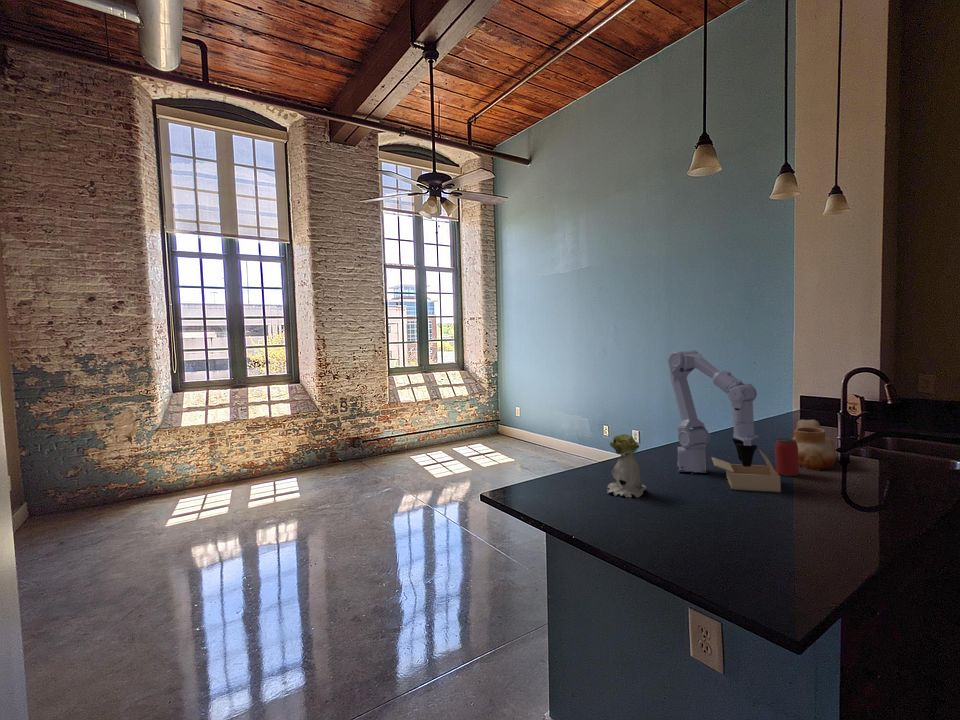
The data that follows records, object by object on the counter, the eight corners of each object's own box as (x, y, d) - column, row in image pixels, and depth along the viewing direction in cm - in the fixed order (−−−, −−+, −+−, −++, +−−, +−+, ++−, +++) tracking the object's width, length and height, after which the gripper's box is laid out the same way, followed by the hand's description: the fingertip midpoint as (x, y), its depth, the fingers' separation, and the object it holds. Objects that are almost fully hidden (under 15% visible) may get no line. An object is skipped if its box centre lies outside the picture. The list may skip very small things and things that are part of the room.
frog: (644, 486, 152) (642, 431, 152) (646, 499, 140) (644, 438, 139) (607, 485, 156) (605, 431, 155) (606, 497, 143) (604, 438, 143)
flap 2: (765, 457, 142) (767, 457, 141) (758, 449, 152) (760, 449, 152) (775, 474, 141) (776, 474, 141) (767, 465, 151) (769, 465, 151)
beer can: (803, 476, 155) (802, 441, 155) (783, 477, 155) (782, 441, 155) (790, 471, 161) (789, 437, 161) (771, 472, 162) (770, 438, 161)
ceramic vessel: (831, 456, 180) (829, 418, 179) (840, 472, 157) (838, 429, 157) (788, 453, 187) (787, 417, 187) (791, 469, 165) (789, 427, 165)
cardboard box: (731, 489, 145) (731, 473, 145) (726, 478, 157) (726, 463, 157) (780, 492, 140) (780, 476, 140) (771, 480, 152) (771, 465, 152)
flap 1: (734, 471, 145) (733, 472, 145) (729, 463, 156) (729, 464, 156) (715, 464, 147) (714, 466, 147) (711, 456, 158) (711, 457, 158)
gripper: (761, 425, 140) (763, 469, 141) (753, 418, 154) (755, 458, 154) (735, 425, 143) (737, 468, 143) (729, 418, 156) (731, 457, 157)
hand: (745, 463), depth 149 cm, fingers open, 7 cm apart
